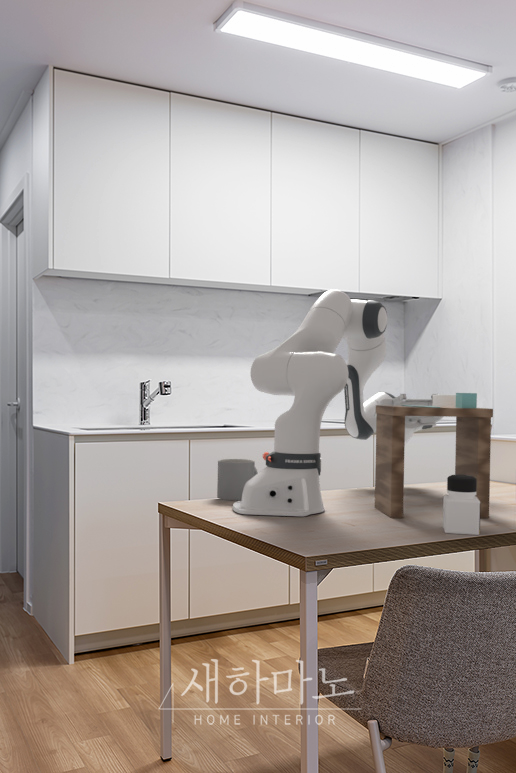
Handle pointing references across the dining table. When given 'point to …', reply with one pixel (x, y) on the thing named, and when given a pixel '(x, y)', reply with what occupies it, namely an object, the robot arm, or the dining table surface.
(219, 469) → the coffee mug
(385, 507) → the shelf
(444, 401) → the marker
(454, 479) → the medicine bottle
